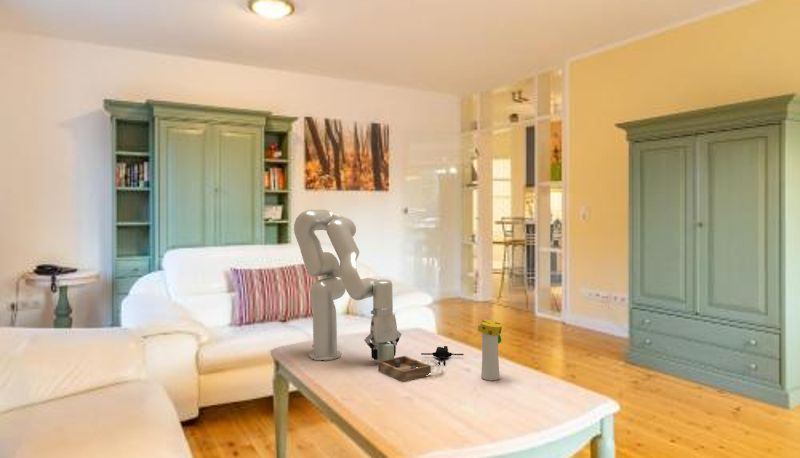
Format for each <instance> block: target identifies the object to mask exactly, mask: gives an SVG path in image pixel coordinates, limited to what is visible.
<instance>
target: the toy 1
mask: <svg viewBox="0 0 800 458" xmlns="http://www.w3.org/2000/svg"><path fill="white" fill-rule="evenodd" d="M420 355H422V356H423V355H424V356H425V355H426V356H433V357H435V358H438V362H437V365H438V364H439V365H440V366H441V361H443V363H442V365H443V367H445V366H446V358H449V357H450V358H451V357H452V356H465V354H464V353H452V352H449V348H448V346H447V345H444V346H437V347H436V350H435V351H434V352H431V353H429V352H428V353H427V352H426V353H425V352H423V353H422V352H421V353H420ZM439 365H438V366H439Z"/></svg>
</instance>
